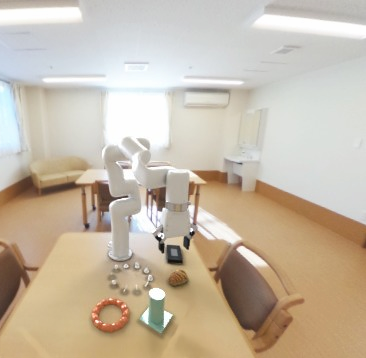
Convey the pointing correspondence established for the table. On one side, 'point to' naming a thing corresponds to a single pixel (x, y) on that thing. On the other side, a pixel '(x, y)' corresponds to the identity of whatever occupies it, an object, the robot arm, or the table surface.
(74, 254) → the table surface
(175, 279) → the pastry
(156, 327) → the mint knob on plate
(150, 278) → the game piece set
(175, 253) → the vhs tape
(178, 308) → the table surface
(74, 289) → the table surface
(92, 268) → the table surface
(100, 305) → the ring
